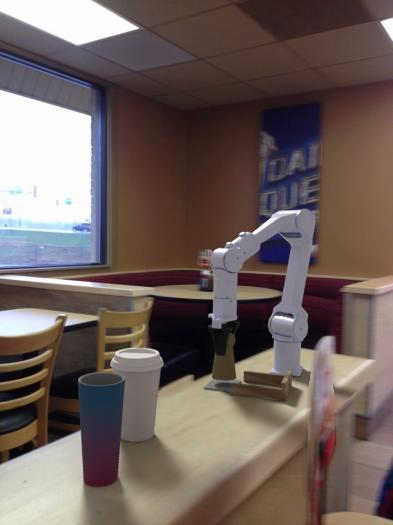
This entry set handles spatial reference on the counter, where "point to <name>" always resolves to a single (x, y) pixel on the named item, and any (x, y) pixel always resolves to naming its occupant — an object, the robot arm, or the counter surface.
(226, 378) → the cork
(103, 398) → the cup
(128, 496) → the counter surface
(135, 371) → the coffee cup
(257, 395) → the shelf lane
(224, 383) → the mat
